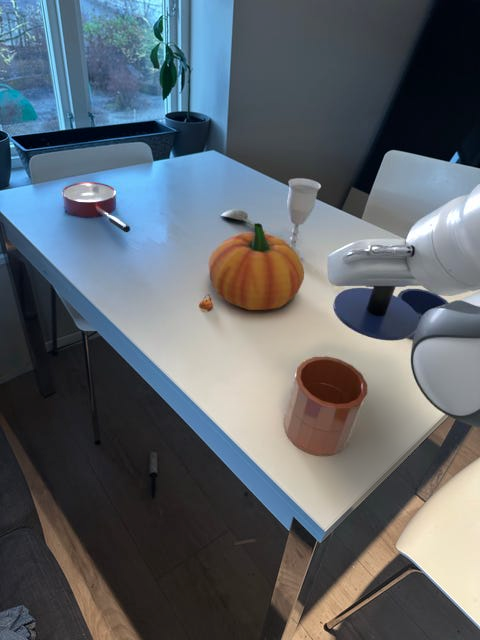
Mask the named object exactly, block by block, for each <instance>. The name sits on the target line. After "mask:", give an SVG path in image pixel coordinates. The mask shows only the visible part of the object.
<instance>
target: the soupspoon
mask: <svg viewBox="0 0 480 640" xmlns="http://www.w3.org/2000/svg"><path fill="white" fill-rule="evenodd" d="M220 216H221V217H224V218H228V219H235V220H239V221H243V222H245V223H247V224H249V225H251V226H252V227H254V224H255V223H253V221H250V220H248V217H249V215H248V213H247V212H246V211H244V210H242V209H238V208H237V209H236V208H235V209H229V210H226V211H224V212H223V213H222V214H221V215H220ZM263 231H264V233H265V234H268V235H270V234H269V233H268V232H267V231H265V230H264V229H263Z"/></svg>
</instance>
